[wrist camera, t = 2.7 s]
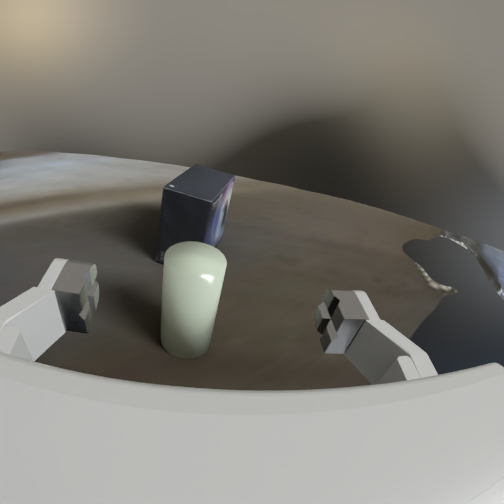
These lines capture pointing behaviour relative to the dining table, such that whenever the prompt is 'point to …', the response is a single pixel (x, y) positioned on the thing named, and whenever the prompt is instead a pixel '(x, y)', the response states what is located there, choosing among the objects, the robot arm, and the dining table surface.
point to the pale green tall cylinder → (190, 297)
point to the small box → (194, 208)
